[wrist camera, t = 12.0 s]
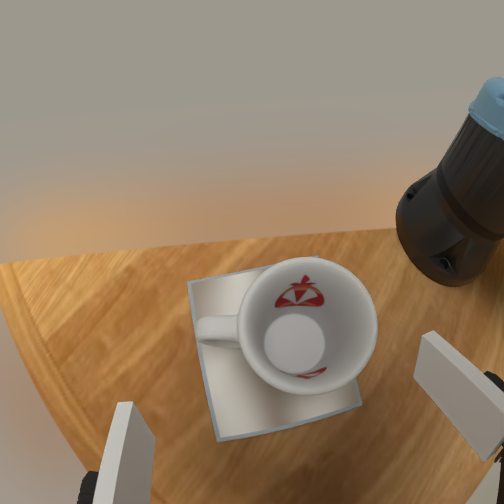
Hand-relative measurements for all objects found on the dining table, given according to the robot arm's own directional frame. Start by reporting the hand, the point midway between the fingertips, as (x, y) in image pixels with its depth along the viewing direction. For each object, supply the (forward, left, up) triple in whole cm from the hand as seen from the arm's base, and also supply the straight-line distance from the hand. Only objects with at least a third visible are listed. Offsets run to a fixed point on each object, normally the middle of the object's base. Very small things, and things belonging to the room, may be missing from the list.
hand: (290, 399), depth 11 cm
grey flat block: (-1, -4, -15) cm, 16 cm away
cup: (-1, -4, -11) cm, 11 cm away
